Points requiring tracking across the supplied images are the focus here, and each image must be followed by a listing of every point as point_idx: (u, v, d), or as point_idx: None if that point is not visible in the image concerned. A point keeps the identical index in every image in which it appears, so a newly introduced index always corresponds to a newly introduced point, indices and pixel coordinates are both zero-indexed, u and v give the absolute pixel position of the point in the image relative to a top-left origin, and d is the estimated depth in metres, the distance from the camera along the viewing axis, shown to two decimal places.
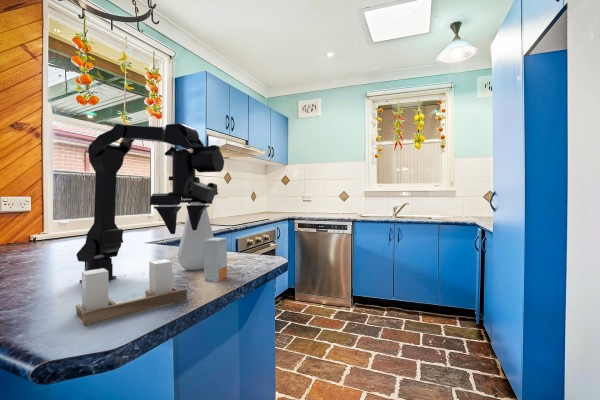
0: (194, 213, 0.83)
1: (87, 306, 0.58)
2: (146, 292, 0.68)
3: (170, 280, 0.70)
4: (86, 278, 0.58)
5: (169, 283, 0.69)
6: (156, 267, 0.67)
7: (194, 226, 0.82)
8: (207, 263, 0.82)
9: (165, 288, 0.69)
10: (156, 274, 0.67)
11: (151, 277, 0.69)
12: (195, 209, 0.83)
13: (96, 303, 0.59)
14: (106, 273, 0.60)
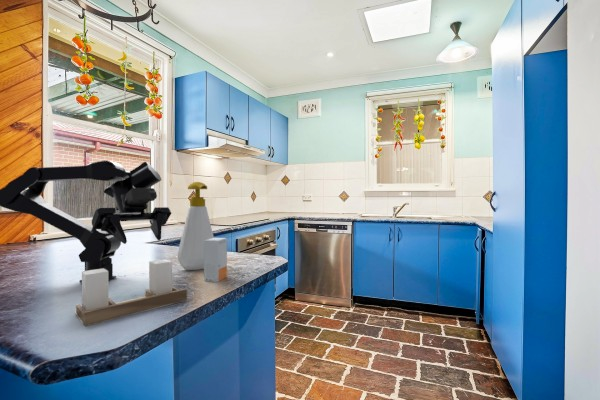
0: (155, 226, 0.84)
1: (87, 306, 0.58)
2: (146, 292, 0.68)
3: (170, 280, 0.70)
4: (86, 278, 0.58)
5: (169, 283, 0.69)
6: (156, 267, 0.67)
7: (157, 236, 0.82)
8: (207, 263, 0.82)
9: (165, 288, 0.69)
10: (156, 274, 0.67)
11: (151, 277, 0.69)
12: (154, 223, 0.84)
13: (96, 303, 0.59)
14: (106, 273, 0.60)
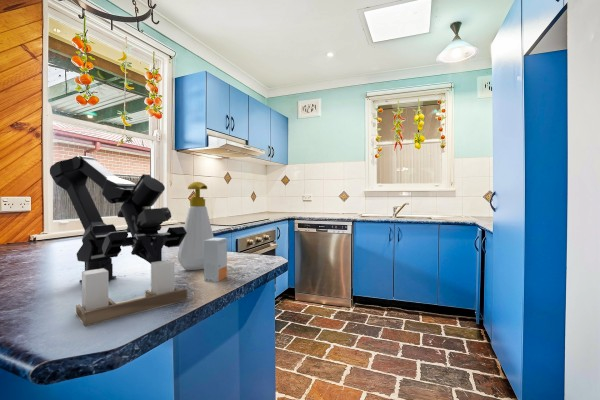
0: (154, 251, 0.73)
1: (87, 306, 0.58)
2: (146, 292, 0.68)
3: (172, 281, 0.69)
4: (86, 278, 0.58)
5: (171, 284, 0.69)
6: (158, 268, 0.66)
7: None
8: (207, 263, 0.82)
9: (167, 289, 0.68)
10: (158, 275, 0.66)
11: (153, 278, 0.68)
12: (153, 247, 0.74)
13: (96, 303, 0.59)
14: (106, 273, 0.60)
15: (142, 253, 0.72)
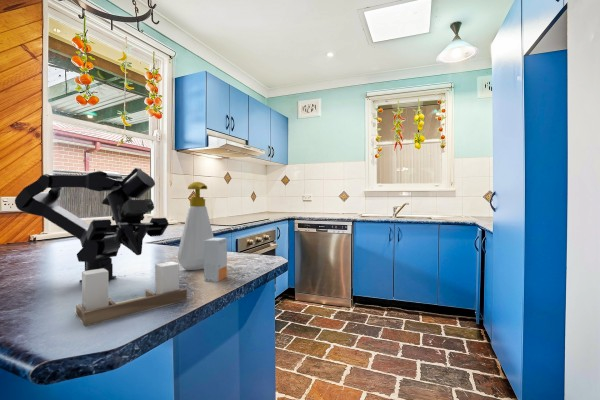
0: (135, 239, 0.79)
1: (87, 306, 0.58)
2: (146, 292, 0.68)
3: (177, 283, 0.67)
4: (86, 278, 0.58)
5: (176, 286, 0.67)
6: (163, 269, 0.65)
7: None
8: (207, 263, 0.82)
9: None
10: (163, 277, 0.65)
11: (157, 280, 0.66)
12: (135, 235, 0.79)
13: (96, 303, 0.59)
14: (106, 273, 0.60)
15: (124, 240, 0.78)
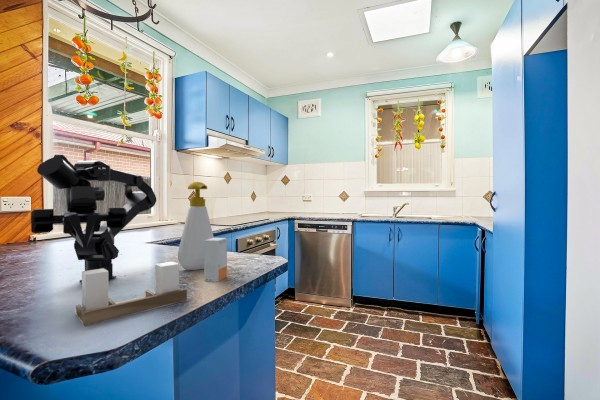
0: (85, 231, 0.72)
1: (87, 306, 0.58)
2: (146, 292, 0.68)
3: (177, 283, 0.67)
4: (86, 278, 0.58)
5: (176, 286, 0.67)
6: (163, 269, 0.65)
7: None
8: (207, 263, 0.82)
9: None
10: (163, 277, 0.65)
11: (157, 280, 0.66)
12: None
13: (96, 303, 0.59)
14: (106, 273, 0.60)
15: (73, 232, 0.71)
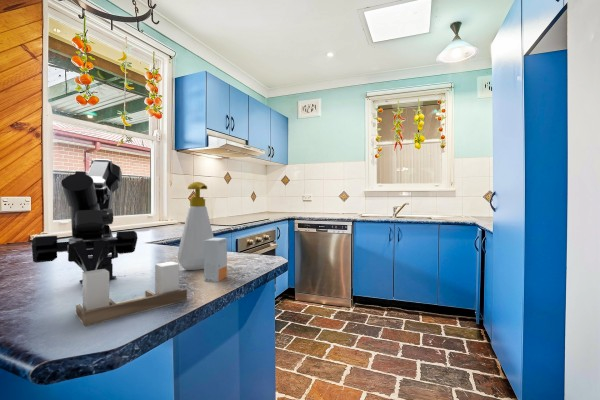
0: None
1: (88, 307, 0.58)
2: (146, 292, 0.68)
3: (177, 283, 0.67)
4: (87, 279, 0.58)
5: (176, 286, 0.67)
6: (163, 269, 0.65)
7: None
8: (207, 263, 0.82)
9: None
10: (163, 277, 0.65)
11: (157, 280, 0.66)
12: None
13: (97, 304, 0.59)
14: (107, 274, 0.60)
15: (79, 260, 0.64)
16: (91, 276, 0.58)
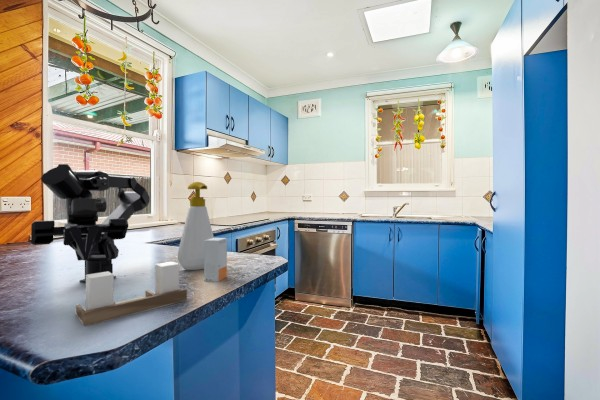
0: (86, 243, 0.71)
1: None
2: (146, 292, 0.68)
3: (177, 283, 0.67)
4: (90, 282, 0.55)
5: (176, 286, 0.67)
6: (163, 269, 0.65)
7: None
8: (207, 263, 0.82)
9: None
10: (163, 277, 0.65)
11: (157, 280, 0.66)
12: (86, 238, 0.71)
13: None
14: (111, 276, 0.58)
15: (73, 244, 0.70)
16: (95, 279, 0.56)
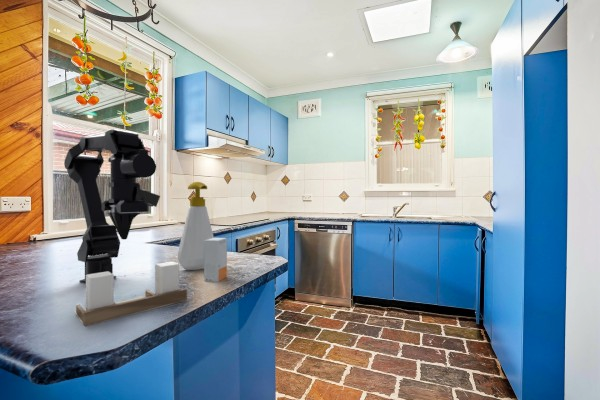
0: None
1: None
2: (146, 292, 0.68)
3: (177, 283, 0.67)
4: (90, 282, 0.55)
5: (176, 286, 0.67)
6: (163, 269, 0.65)
7: None
8: (207, 263, 0.82)
9: None
10: (163, 277, 0.65)
11: (157, 280, 0.66)
12: None
13: None
14: (111, 276, 0.58)
15: (120, 219, 0.75)
16: (95, 279, 0.56)
